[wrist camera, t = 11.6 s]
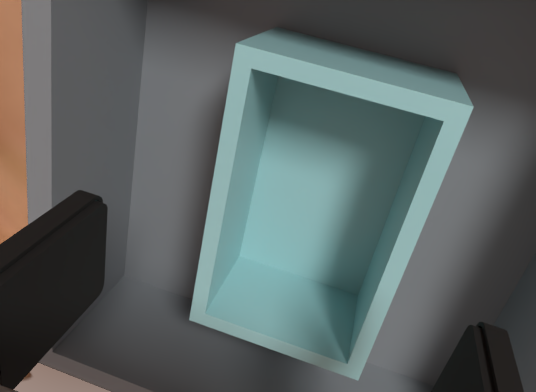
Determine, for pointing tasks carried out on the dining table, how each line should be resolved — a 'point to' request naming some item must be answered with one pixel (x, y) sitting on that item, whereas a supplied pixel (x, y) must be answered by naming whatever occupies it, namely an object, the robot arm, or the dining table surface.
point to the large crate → (202, 171)
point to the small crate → (321, 193)
